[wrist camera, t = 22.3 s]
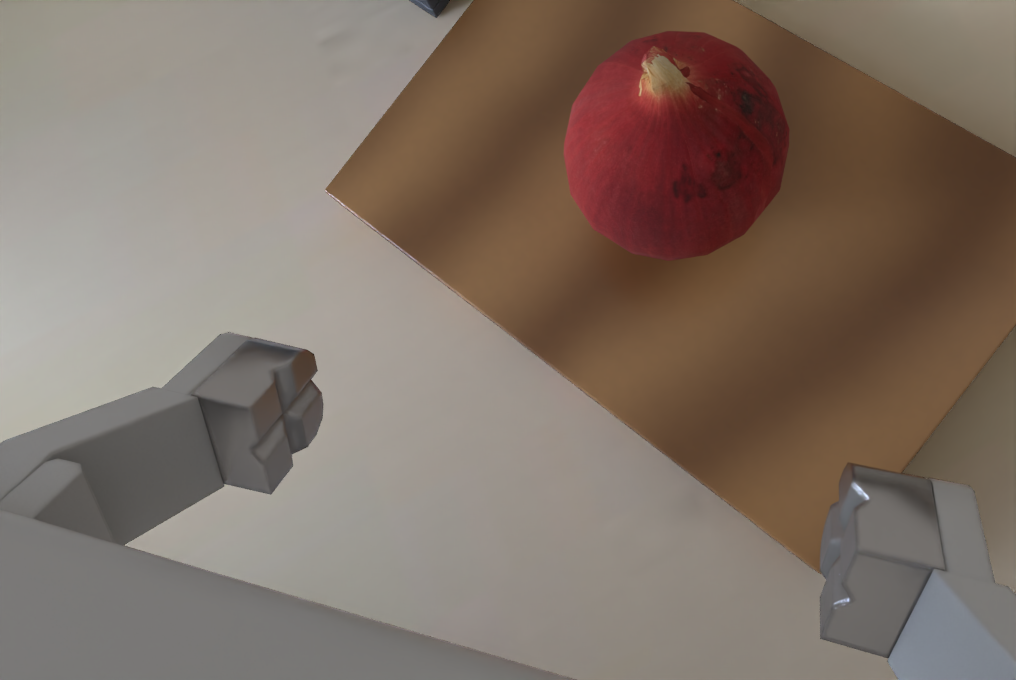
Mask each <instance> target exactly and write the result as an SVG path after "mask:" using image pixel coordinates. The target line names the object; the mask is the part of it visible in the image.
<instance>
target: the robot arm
mask: <svg viewBox="0 0 1016 680" xmlns="http://www.w3.org/2000/svg"><path fill="white" fill-rule="evenodd" d="M317 371H318V370H317V366H316V361H315V357H314V354H313V353H311V352H310V351H308V350H306V349H302V348H297V347H293V346H289V345H285V344H280V343H276V342H272V341H268V340H263V339H259V338H252V337H248V336H244V335H239V334H235V333H231V332H228V333H224V334H220V335H219V336H218V337H217V338H215V339H214V340H213V341H212V342H211V343H210V344H209V345H208V346H207V347H206V348H205V349H204V350H202V351H201V352H200V353H199V354H198V355H197V356H196V357H195V358H194V359H193V360H192V361H191V362H189V363H188V364H187V365H186V366H185V367H184V368H183V369H182V370H181V371H180V372H179V373H178V374H176V375H175V376H174V377H173V378H172V379H171V380H170V381H169V382H168V383H167V384H166V385H165V386H163V387H162V388H157V387H151V388H148V389H146V390H143V391H140V392H137V393H135V394H132V395H129V396H126V397H123V398H121V399H118V400H115V401H112V402H110V403H107V404H104V405H101V406H99V407H96V408H93V409H90V410H88V411H85V412H82V413H79V414H77V415H74V416H71V417H68V418H65V419H63V420H60V421H57V422H54V423H52V424H49V425H46V426H43V427H41V428H38V429H35V430H32V431H30V432H27V433H24V434H21V435H19V436H16V437H13V438H10V439H8V440H5V441H3V442H2V443H1V444H0V680H576V679H572V678H569V677H566V676H562V675H559V674H555V673H552V672H549V671H545V670H542V669H538V668H535V667H532V666H528V665H525V664H522V663H518V662H515V661H511V660H508V659H505V658H501V657H498V656H495V655H491V654H488V653H484V652H481V651H478V650H474V649H471V648H468V647H464V646H461V645H457V644H454V643H451V642H447V641H444V640H441V639H437V638H434V637H431V636H427V635H424V634H420V633H417V632H414V631H410V630H407V629H404V628H400V627H397V626H393V625H390V624H387V623H383V622H380V621H377V620H373V619H370V618H367V617H363V616H360V615H356V614H353V613H350V612H346V611H343V610H340V609H336V608H333V607H329V606H326V605H323V604H319V603H316V602H313V601H309V600H306V599H302V598H299V597H296V596H292V595H289V594H286V593H282V592H279V591H275V590H272V589H269V588H265V587H262V586H259V585H255V584H252V583H248V582H245V581H242V580H238V579H235V578H232V577H228V576H225V575H221V574H218V573H215V572H211V571H208V570H205V569H201V568H198V567H194V566H191V565H188V564H184V563H181V562H178V561H174V560H171V559H167V558H164V557H161V556H157V555H154V554H151V553H147V552H144V551H140V550H137V549H134V548H130V547H127V546H124V545H125V544H127V543H128V542H130V541H132V540H134V539H135V538H137V537H139V536H140V535H142V534H144V533H145V532H147V531H149V530H151V529H152V528H154V527H156V526H157V525H159V524H161V523H163V522H164V521H166V520H168V519H169V518H171V517H173V516H174V515H176V514H178V513H180V512H181V511H183V510H185V509H186V508H188V507H190V506H192V505H193V504H195V503H197V502H198V501H200V500H202V499H204V498H205V497H207V496H209V495H210V494H212V493H214V492H215V491H217V490H219V489H221V488H222V487H224V484H227V485H232V486H236V487H240V488H245V489H249V490H253V491H258V492H262V493H266V494H272V493H273V491H274V490H275V489H276V488H277V486H278V485H279V484H280V482H281V481H282V480H283V478H284V477H285V476H286V475H287V473H288V472H289V471H290V469H291V468H292V467H293V460H292V454H294V453H296V452H298V451H300V450H302V449H304V448H306V447H308V446H309V444H310V443H311V441H312V440H313V439H314V437H315V436H316V435H317V432H318V429H319V426H320V423H321V421H322V417H323V399H322V392H321V391H320V390H319V389H318V387H317V386H316V385H315V384H314V383H313V381H312V380H311V379H312V378H313V376H314V375H315V374H316V372H317ZM820 572H821V573H822V575H823V576H824V577H825V579H826V582H825V585H824V587H823V590H822V593H821V596H820V639H823V640H826V641H830V642H833V643H837V644H840V645H844V646H847V647H851V648H854V649H858V650H861V651H865V652H868V653H871V654H875V655H878V656H882V657H885V658H889V659H888V661H887V662H888V663H889V665H890V667H891V668H892V670H893V671H894V673H895V675H896V676H897V678H898V680H1016V594H1015V593H1014V592H1013V591H1012V590H1011V589H1010V588H1009V587H1008V586H1005V585H1000V584H996V583H995V579H994V575H993V571H992V566H991V562H990V557H989V553H988V549H987V544H986V540H985V536H984V531H983V527H982V522H981V518H980V514H979V509H978V505H977V501H976V496H975V492H974V490H973V489H972V488H971V487H970V486H969V485H965V484H960V483H954V482H949V481H944V480H939V479H933V478H927V479H926V478H924V477H920V476H915V475H910V474H905V473H900V472H895V471H890V470H885V469H880V468H875V467H870V466H865V465H860V464H855V463H850V462H848V463H847V465H846V466H845V468H844V469H843V472H842V475H841V478H840V480H839V501H837V502H836V503H834V504H832V505H830V508H829V512H828V515H827V518H826V521H825V525H824V530H823V535H822V539H821V549H820Z"/></svg>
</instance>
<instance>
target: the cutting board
mask: <svg viewBox="0 0 1016 680" xmlns="http://www.w3.org/2000/svg"><path fill="white" fill-rule="evenodd" d="M665 31H684V32H705V33H707V34H709V35H712V36H714V37H716V38H718V39H721V40H723V41H725V42H727V43H730V44H732V45H734V46H737V47H738V48H739V49H741V50H742V51H743V52H744V53H745V54H746V55H747V56H748V57H749V58H750V59H751V60H752V61H753V62H754V63H755V64H756V65H757V66H758V67H759V68H760V69H761V70H762V71H763V72H764V73H765V75H766V76H767V77H768V78H769V79H770V80H771V82H772V83H773V85H774V86H775V88H776V90H777V93H778V96H779V99H780V102H781V105H782V108H783V111H784V114H785V117H786V120H787V123H788V126H789V129H790V132H789V148H788V153H787V158H786V163H785V168H784V173H783V178H782V183H781V188H780V191H779V192H778V193H777V195H776V196H775V197H774V199H773V200H772V201H771V202H770V204H769V205H768V206H767V207H766V208H765V210H764V211H763V212H762V213H761V215H760V216H759V217H758V218H757V219H756V221H755V222H754V223H753V224H752V226H751V227H750V228H749V229H748V230H747V232H746V233H745V234H744V235H742V236H741V237H739V238H737V239H735V240H733V241H732V242H730V243H728V244H726V245H724V246H723V247H721V248H719V249H717V250H715V251H714V252H712V253H710V254H708V255H704V256H698V257H691V258H685V259H678V260H671V261H666V260H661V259H656V258H651V257H646V256H641V255H636V254H632V253H630V252H629V251H627V250H626V249H624V248H622V247H621V246H619V245H618V244H616V243H615V242H613V241H611V240H610V239H608V238H607V237H605V236H604V235H602V234H600V233H599V232H597V231H595V230H594V229H593V228H592V227H591V225H590V224H589V222H588V220H587V219H586V217H585V216H584V214H583V213H582V211H581V210H580V208H579V207H578V205H577V203H576V202H575V200H574V199H573V197H572V196H571V194H570V188H569V182H568V177H567V171H566V165H565V159H564V142H565V137H566V132H567V128H568V123H569V118H570V114H571V109H572V105H573V103H574V102H575V100H576V98H577V97H578V95H579V94H580V92H581V91H582V89H583V88H584V86H585V85H586V83H587V82H588V80H589V79H590V77H591V76H592V74H593V73H594V71H595V69H596V68H597V66H598V65H600V64H601V63H602V62H604V61H605V60H606V59H608V58H609V57H610V56H611V55H613V54H614V53H615V52H617V51H618V50H619V49H621V48H622V47H623V46H624V45H626V44H627V43H628V42H630V41H631V40H635V39H639V38H643V37H646V36H650V35H654V34H658V33H662V32H665ZM325 191H326V193H327V194H329V195H330V196H331V197H332V198H333V199H335V200H336V201H337V202H338V203H340V204H341V205H342V206H343V207H345V208H346V209H347V210H348V211H350V212H351V213H352V214H354V215H355V216H356V217H357V218H359V219H360V220H361V221H363V222H364V223H365V224H367V225H368V226H369V227H370V228H372V229H373V230H374V231H376V232H377V233H378V234H379V235H381V236H382V237H383V238H385V239H386V240H387V241H389V242H390V243H391V244H392V245H394V246H395V247H396V248H398V249H399V250H400V251H401V252H403V253H404V254H405V255H407V256H408V257H409V258H411V259H412V260H413V261H414V262H416V263H417V264H418V265H420V266H421V267H422V268H423V269H425V270H426V271H427V272H429V273H430V274H431V275H433V276H434V277H435V278H436V279H438V280H439V281H440V282H442V283H443V284H444V285H445V286H447V287H448V288H449V289H451V290H452V291H453V292H455V293H456V294H457V295H458V296H460V297H461V298H462V299H464V300H465V301H466V302H468V303H469V304H470V305H471V306H473V307H474V308H475V309H477V310H478V311H479V312H480V313H482V314H483V315H484V316H486V317H487V318H488V319H490V320H491V321H492V322H493V323H495V324H496V325H497V326H499V327H500V328H501V329H502V330H504V331H505V332H506V333H508V334H509V335H510V336H512V337H513V338H514V339H515V340H517V341H518V342H519V343H521V344H522V345H523V346H524V347H526V348H527V349H528V350H530V351H531V352H532V353H534V354H535V355H536V356H537V357H539V358H540V359H541V360H543V361H544V362H545V363H546V364H548V365H549V366H550V367H552V368H553V369H554V370H556V371H557V372H558V373H559V374H561V375H562V376H563V377H565V378H566V379H567V380H568V381H570V382H571V383H572V384H574V385H575V386H576V387H578V388H579V389H580V390H581V391H583V392H584V393H585V394H587V395H588V396H589V397H590V398H592V399H593V400H594V401H596V402H597V403H598V404H600V405H601V406H602V407H603V408H605V409H606V410H607V411H609V412H610V413H611V414H612V415H614V416H615V417H616V418H618V419H619V420H620V421H622V422H623V423H624V424H625V425H627V426H628V427H629V428H631V429H632V430H633V431H634V432H636V433H637V434H638V435H640V436H641V437H642V438H644V439H645V440H646V441H647V442H649V443H650V444H651V445H653V446H654V447H655V448H656V449H658V450H659V451H660V452H662V453H663V454H664V455H666V456H667V457H668V458H669V459H671V460H672V461H673V462H675V463H676V464H677V465H678V466H680V467H681V468H682V469H684V470H685V471H686V472H688V473H689V474H690V475H691V476H693V477H694V478H695V479H697V480H698V481H699V482H701V483H702V484H703V485H704V486H706V487H707V488H708V489H710V490H711V491H712V492H713V493H715V494H716V495H717V496H719V497H720V498H721V499H723V500H724V501H725V502H726V503H728V504H729V505H730V506H732V507H733V508H734V509H735V510H737V511H738V512H739V513H741V514H742V515H743V516H745V517H746V518H747V519H748V520H750V521H751V522H752V523H754V524H755V525H756V526H757V527H759V528H760V529H761V530H763V531H764V532H765V533H767V534H768V535H769V536H770V537H772V538H773V539H774V540H776V541H777V542H778V543H779V544H781V545H782V546H783V547H785V548H786V549H787V550H789V551H790V552H791V553H792V554H794V555H795V556H796V557H798V558H799V559H800V560H801V561H803V562H804V563H805V564H807V565H808V566H809V567H811V568H812V569H813V570H815V571H816V572H818V573H820V574H822V573H821V572H820V549H821V539H822V535H823V530H824V525H825V521H826V518H827V515H828V512H829V508H830V505H832V504H834V503H836V502H837V501H839V480H840V478H841V475H842V472H843V469H844V468H845V466H846V465H847V463H848V462H850V463H855V464H860V465H865V466H870V467H875V468H880V469H885V470H890V471H895V472H900V473H902V472H903V471H904V470H905V468H906V467H907V466H908V464H909V463H910V462H911V461H912V459H913V458H914V457H915V455H916V454H917V453H918V451H919V450H920V449H921V448H922V446H923V445H924V444H925V442H926V441H927V440H928V438H929V437H930V436H931V435H932V433H933V432H934V431H935V429H936V428H937V427H938V426H939V424H940V423H941V422H942V420H943V419H944V418H945V416H946V415H947V414H948V413H949V411H950V410H951V409H952V407H953V406H954V405H955V404H956V402H957V401H958V400H959V398H960V397H961V396H962V394H963V393H964V392H965V391H966V389H967V388H968V387H969V385H970V384H971V383H972V381H973V380H974V379H975V378H976V376H977V375H978V374H979V372H980V371H981V370H982V369H983V367H984V366H985V365H986V363H987V362H988V361H989V359H990V358H991V357H992V356H993V354H994V353H995V352H996V350H997V349H998V348H999V347H1000V345H1001V344H1002V343H1003V341H1004V340H1005V339H1006V337H1007V336H1008V335H1009V334H1010V332H1011V331H1012V330H1013V328H1014V327H1015V326H1016V157H1014V156H1012V155H1010V154H1008V153H1007V152H1005V151H1003V150H1001V149H1000V148H998V147H996V146H994V145H992V144H991V143H989V142H987V141H985V140H983V139H982V138H980V137H978V136H976V135H974V134H973V133H971V132H969V131H967V130H965V129H964V128H962V127H960V126H958V125H956V124H955V123H953V122H951V121H949V120H947V119H946V118H944V117H942V116H940V115H938V114H937V113H935V112H933V111H931V110H929V109H928V108H926V107H924V106H922V105H920V104H919V103H917V102H915V101H913V100H911V99H910V98H908V97H906V96H904V95H902V94H901V93H899V92H897V91H895V90H893V89H892V88H890V87H888V86H886V85H884V84H883V83H881V82H879V81H877V80H876V79H874V78H872V77H870V76H868V75H867V74H865V73H863V72H861V71H859V70H858V69H856V68H854V67H852V66H850V65H849V64H847V63H845V62H843V61H841V60H840V59H838V58H836V57H834V56H832V55H831V54H829V53H827V52H825V51H823V50H822V49H820V48H818V47H816V46H814V45H813V44H811V43H809V42H807V41H805V40H804V39H802V38H800V37H798V36H796V35H795V34H793V33H791V32H789V31H787V30H786V29H784V28H782V27H780V26H778V25H777V24H775V23H773V22H771V21H769V20H768V19H766V18H764V17H762V16H761V15H759V14H757V13H755V12H753V11H752V10H750V9H748V8H746V7H744V6H743V5H741V4H739V3H737V2H735V1H734V0H474V1H473V2H472V3H471V4H470V6H469V7H468V8H467V10H466V11H465V12H464V13H463V15H462V16H461V17H460V18H459V20H458V21H457V22H456V24H455V25H454V26H453V27H452V29H451V30H450V31H449V32H448V34H447V35H446V36H445V38H444V39H443V40H442V41H441V43H440V44H439V45H438V46H437V48H436V49H435V50H434V52H433V53H432V54H431V55H430V57H429V58H428V59H427V60H426V62H425V63H424V64H423V66H422V67H421V68H420V69H419V71H418V72H417V73H416V74H415V76H414V77H413V78H412V80H411V81H410V82H409V83H408V85H407V86H406V87H405V88H404V90H403V91H402V92H401V94H400V95H399V96H398V97H397V99H396V100H395V101H394V102H393V104H392V105H391V106H390V108H389V109H388V110H387V111H386V113H385V114H384V115H383V117H382V118H381V119H380V120H379V122H378V123H377V124H376V125H375V127H374V128H373V129H372V131H371V132H370V133H369V134H368V136H367V137H366V138H365V139H364V141H363V142H362V143H361V145H360V146H359V147H358V148H357V150H356V151H355V152H354V153H353V155H352V156H351V157H350V159H349V160H348V161H347V162H346V164H345V165H344V166H343V167H342V169H341V170H340V171H339V173H338V174H337V175H336V176H335V178H334V179H333V180H332V181H331V183H330V184H329V185H328V187H327V188H326V189H325Z"/></svg>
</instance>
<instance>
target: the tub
mask: <svg viewBox="0 0 1016 680" xmlns="http://www.w3.org/2000/svg"><path fill="white" fill-rule="evenodd" d="M409 1H411V2H412V3H414V4H416V5H417V6H419V7H420V8H422V9H423V10H425V11H426V12H428V13H430V14H431V15H433V16H434V17H437V16H438V15H439V14H440V13H441V11H442V10H443V9H444V8H445V6H446V5H447V4H448V2H449V1H450V0H409Z"/></svg>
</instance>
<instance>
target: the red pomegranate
mask: <svg viewBox="0 0 1016 680" xmlns="http://www.w3.org/2000/svg"><path fill="white" fill-rule="evenodd" d="M789 132H790V129H789V126H788V123H787V120H786V117H785V114H784V111H783V108H782V105H781V102H780V99H779V96H778V93H777V90H776V88H775V86H774V85H773V83H772V82H771V80H770V79H769V78H768V77H767V76H766V75H765V73H764V72H763V71H762V70H761V69H760V68H759V67H758V66H757V65H756V64H755V63H754V62H753V61H752V60H751V59H750V58H749V57H748V56H747V55H746V54H745V53H744V52H743V51H742V50H741V49H739V48H738V47H737V46H734V45H732V44H730V43H727V42H725V41H723V40H721V39H718V38H716V37H714V36H712V35H709V34H707V33H705V32H684V31H665V32H662V33H658V34H654V35H650V36H646V37H643V38H639V39H635V40H631V41H630V42H628V43H627V44H626V45H624V46H623V47H622V48H621V49H619V50H618V51H617V52H615V53H614V54H613V55H611V56H610V57H609V58H608V59H606V60H605V61H604V62H602V63H601V64H600V65H598V66H597V68H596V69H595V71H594V73H593V74H592V76H591V77H590V79H589V80H588V82H587V83H586V85H585V86H584V88H583V89H582V91H581V92H580V94H579V95H578V97H577V98H576V100H575V102H574V103H573V105H572V109H571V114H570V118H569V123H568V128H567V132H566V137H565V142H564V159H565V165H566V171H567V177H568V182H569V188H570V194H571V196H572V197H573V199H574V200H575V202H576V203H577V205H578V207H579V208H580V210H581V211H582V213H583V214H584V216H585V217H586V219H587V220H588V222H589V224H590V225H591V227H592V228H593V229H594V230H595V231H597V232H599V233H600V234H602V235H604V236H605V237H607V238H608V239H610V240H611V241H613V242H615V243H616V244H618V245H619V246H621V247H622V248H624V249H626V250H627V251H629V252H630V253H632V254H636V255H641V256H646V257H651V258H656V259H661V260H666V261H671V260H678V259H685V258H691V257H698V256H704V255H708V254H710V253H712V252H714V251H715V250H717V249H719V248H721V247H723V246H724V245H726V244H728V243H730V242H732V241H733V240H735V239H737V238H739V237H741V236H742V235H744V234H745V233H746V232H747V230H748V229H749V228H750V227H751V226H752V224H753V223H754V222H755V221H756V219H757V218H758V217H759V216H760V215H761V213H762V212H763V211H764V210H765V208H766V207H767V206H768V205H769V204H770V202H771V201H772V200H773V199H774V197H775V196H776V195H777V193H778V192H779V191H780V188H781V183H782V178H783V173H784V168H785V163H786V158H787V153H788V148H789Z"/></svg>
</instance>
